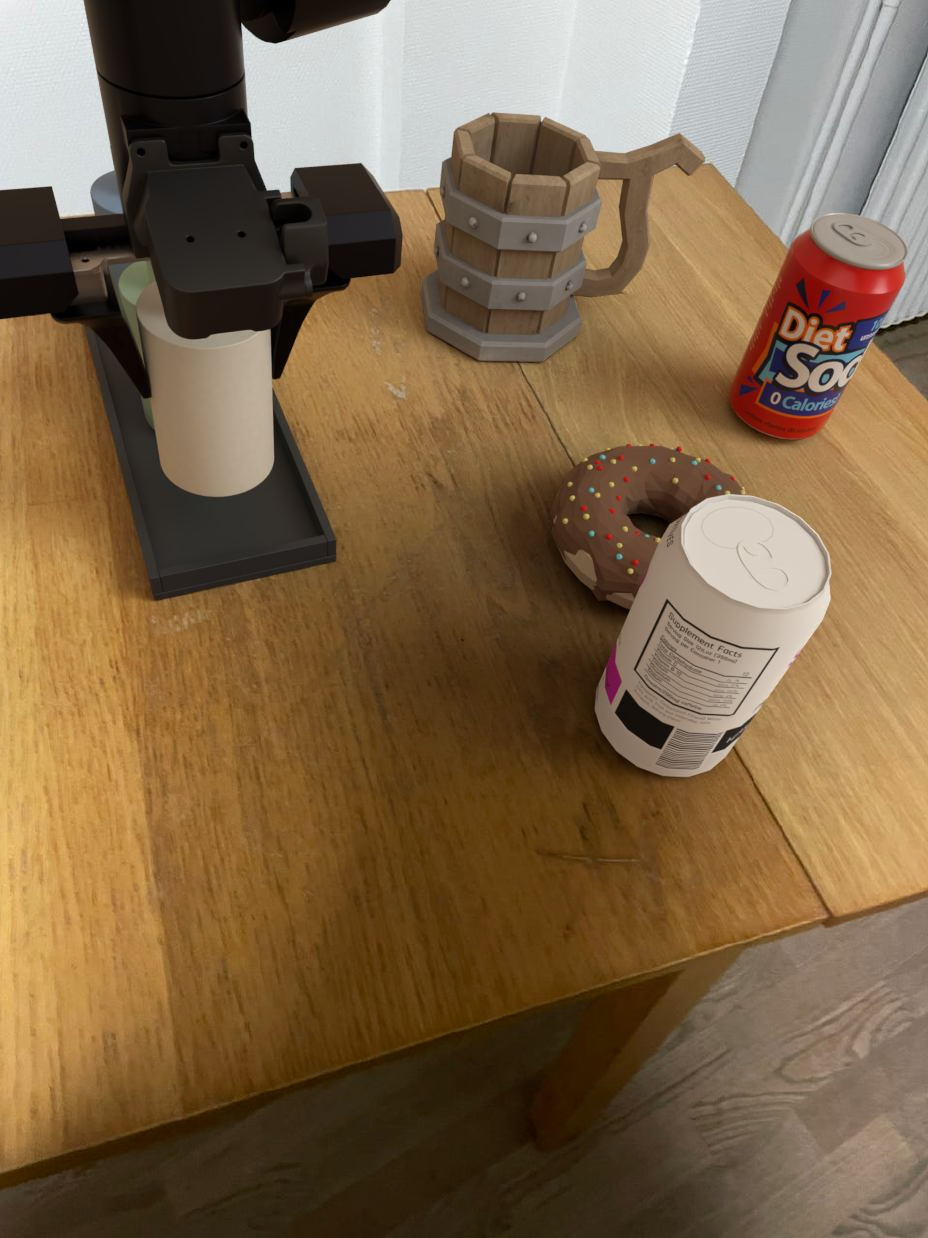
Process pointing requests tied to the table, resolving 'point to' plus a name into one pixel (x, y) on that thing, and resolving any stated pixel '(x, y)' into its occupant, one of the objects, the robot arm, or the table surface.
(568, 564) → the donut
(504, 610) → the table surface
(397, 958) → the table surface
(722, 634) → the supplement can
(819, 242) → the soda can
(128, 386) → the tray
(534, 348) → the tankard
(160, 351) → the cream bottle
